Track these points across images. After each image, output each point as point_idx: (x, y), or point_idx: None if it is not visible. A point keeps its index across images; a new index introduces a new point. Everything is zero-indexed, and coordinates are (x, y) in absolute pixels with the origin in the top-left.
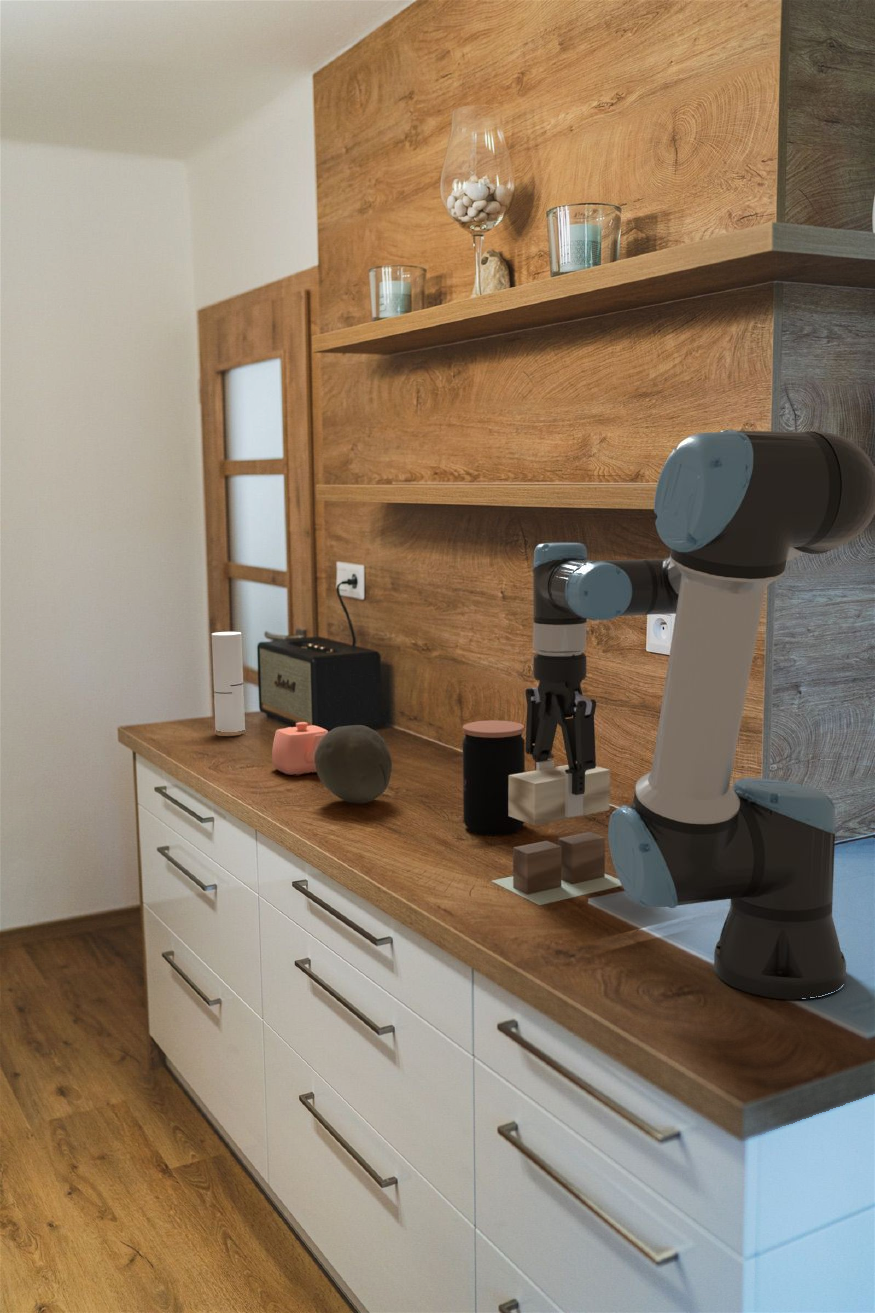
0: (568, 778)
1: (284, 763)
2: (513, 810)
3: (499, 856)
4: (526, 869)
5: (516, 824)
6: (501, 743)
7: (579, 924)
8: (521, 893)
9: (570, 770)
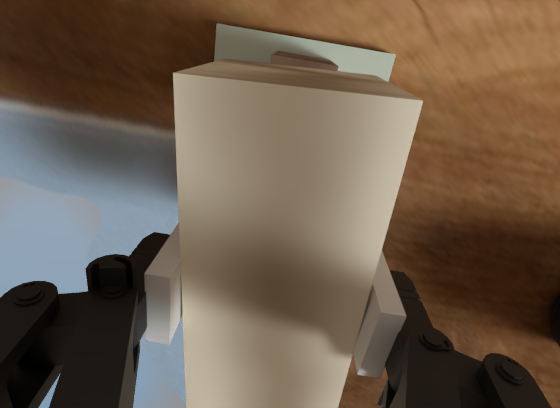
0: (155, 258)
1: None
2: (348, 74)
3: (500, 205)
4: (278, 53)
5: (557, 320)
6: None
7: (132, 42)
8: (291, 46)
9: (88, 266)
